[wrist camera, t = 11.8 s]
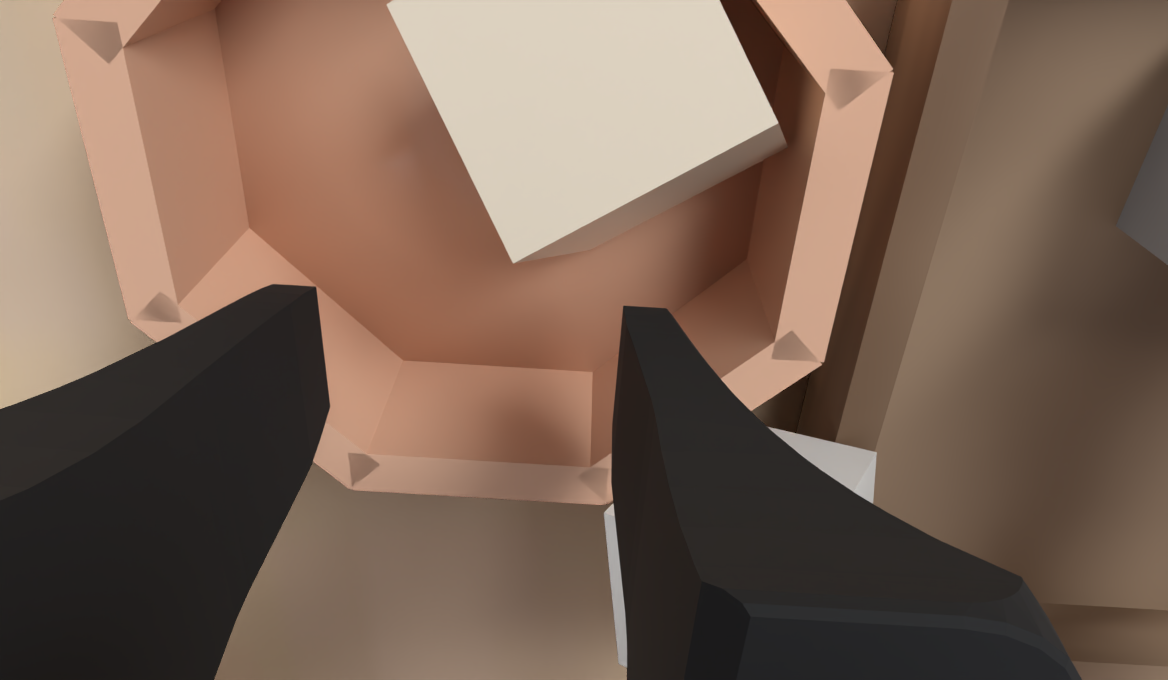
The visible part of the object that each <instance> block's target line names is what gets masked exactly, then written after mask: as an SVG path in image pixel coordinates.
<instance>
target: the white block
mask: <svg viewBox="0 0 1168 680" xmlns="http://www.w3.org/2000/svg"><path fill="white" fill-rule="evenodd" d="M768 428H769V429H770V430H771V431H773V432H774V433H775V434H776V435H777V436H779V437H780V438H781V439H782V440H783V441H785V442H786V443H787V444H788V445H789V446H791V447H792V448H793V449H794V450H796V451H797V452H798V453H799V454H800V455H802V456H803V457H804V458H806V459H807V460H808V461H810V462H811V463H812V464H814V465H815V466H816V467H818V468H819V469H820V470H822V471H823V472H825V473H826V474H828V475H829V476H831V477H832V478H834V479H835V480H837V481H838V482H840V483H841V484H843V485H844V486H846V487H847V488H849V489H850V490H852V491H853V492H855V493H856V494H858V495H859V496H861V497H862V498H864V499H866V500H867V501H869V502H871V503H872V504H873V498H874V483H875V469H876V455H877V452H873V451H869V450H865V449H860V448H856V447H852V446H848V445H843V444H839V443H835V442H831V441H826V440H822V439H818V438H814V437H809V436H805V435H801V434H797V433H792V432H788V431H784V430H780V429H775V428H771V427H768ZM604 520H605V531H606V541H607V551H608V561H609V571H610V581H611V591H612V601H613V611H614V621H615V632H616V642H617V652H618V662H619V664H620V665H622V666H625V667H627V635H626V619H625V607H624V598H623V588H622V579H621V570H620V561H619V551H618V542H617V533H616V523H615V514H614V504H612V505H611V506H610V507H609V508H608V509H607V510H606V511H605V512H604Z"/></svg>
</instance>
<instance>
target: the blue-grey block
mask: <svg viewBox="0 0 1168 680" xmlns="http://www.w3.org/2000/svg"><path fill="white" fill-rule="evenodd" d="M1116 227H1118V228H1119V229H1120V230H1122V231H1123V232H1124V233H1126V234H1127V235H1128V236H1130V237H1131V238H1132V239H1134V240H1135V241H1136V242H1138V243H1139V244H1140V245H1142V246H1143V247H1144V248H1146V249H1147V250H1148V251H1150V252H1151V253H1152V254H1154V255H1155V256H1156V257H1158V258H1159V259H1160V260H1162V261H1163V262H1164V263H1166V264H1167V265H1168V106H1167V108H1166V110H1165V113H1164V115H1163V117H1162V120H1161V122H1160V124H1159V127H1158V129H1157V131H1156V134H1155V136H1154V138H1153V141H1152V143H1151V145H1150V148H1149V150H1148V152H1147V154H1146V157H1145V159H1144V161H1143V164H1142V166H1141V168H1140V171H1139V173H1138V175H1137V178H1136V180H1135V182H1134V185H1133V187H1132V189H1131V192H1130V194H1129V196H1128V199H1127V201H1126V203H1125V206H1124V208H1123V210H1122V212H1121V215H1120V217H1119V219H1118V222H1117V224H1116Z"/></svg>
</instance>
